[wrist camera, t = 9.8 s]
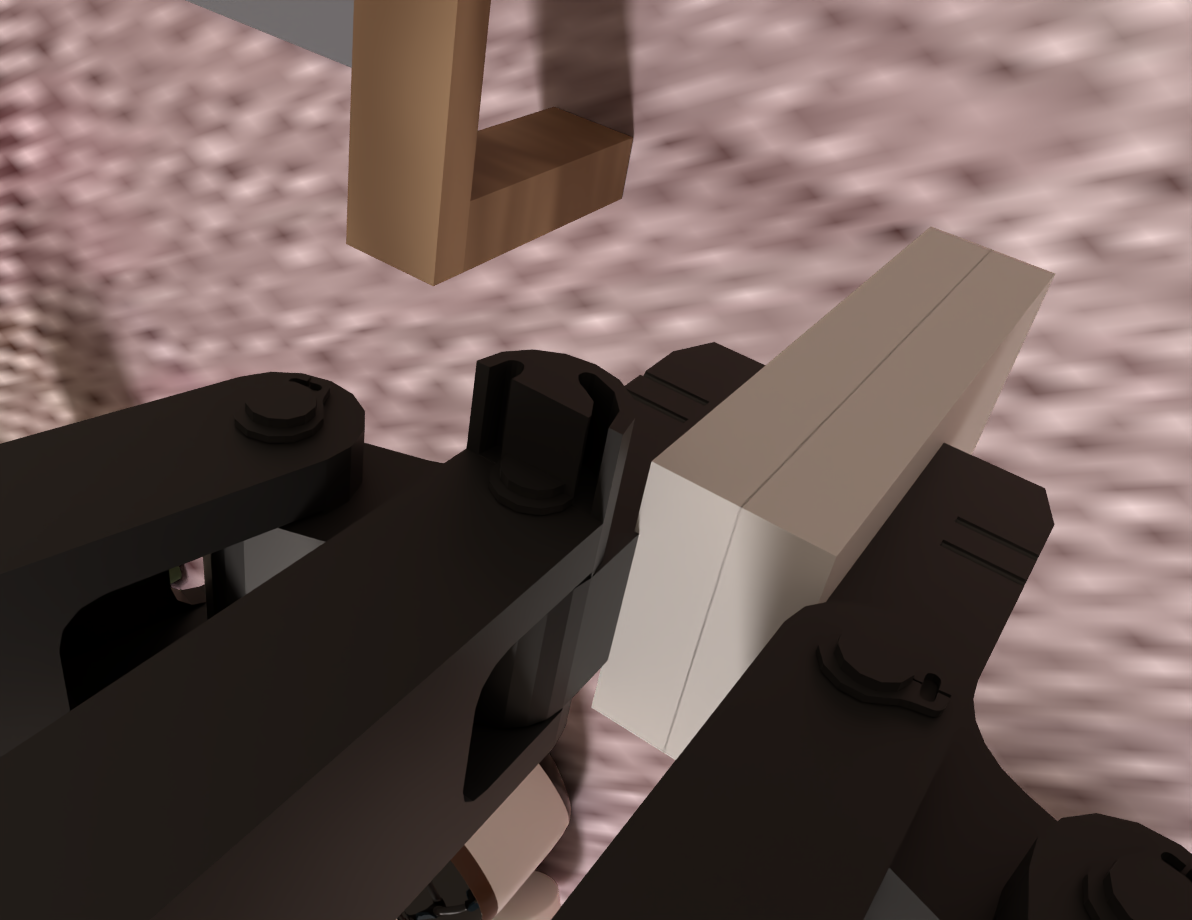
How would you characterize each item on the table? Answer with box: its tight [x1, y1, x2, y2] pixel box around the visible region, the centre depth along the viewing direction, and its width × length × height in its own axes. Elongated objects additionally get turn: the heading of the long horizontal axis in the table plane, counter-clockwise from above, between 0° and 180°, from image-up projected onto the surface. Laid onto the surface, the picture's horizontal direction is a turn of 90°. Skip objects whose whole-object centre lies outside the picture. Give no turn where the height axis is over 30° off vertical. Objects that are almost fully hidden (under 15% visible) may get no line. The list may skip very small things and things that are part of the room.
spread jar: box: [396, 753, 571, 920], centre depth 48 cm, size 12×11×12 cm
